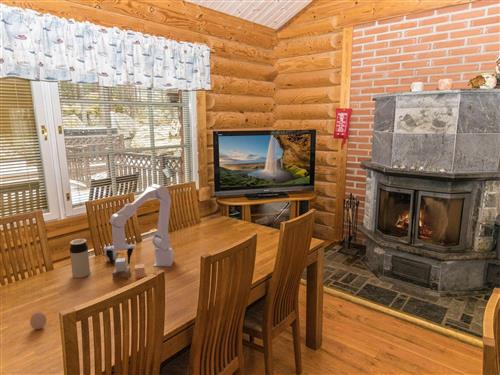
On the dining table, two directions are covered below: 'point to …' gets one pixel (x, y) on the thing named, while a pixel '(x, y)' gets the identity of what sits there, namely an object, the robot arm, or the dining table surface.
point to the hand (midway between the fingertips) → (120, 263)
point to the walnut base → (121, 274)
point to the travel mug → (79, 258)
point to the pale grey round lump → (113, 256)
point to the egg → (38, 320)
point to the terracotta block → (140, 270)
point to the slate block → (120, 264)
